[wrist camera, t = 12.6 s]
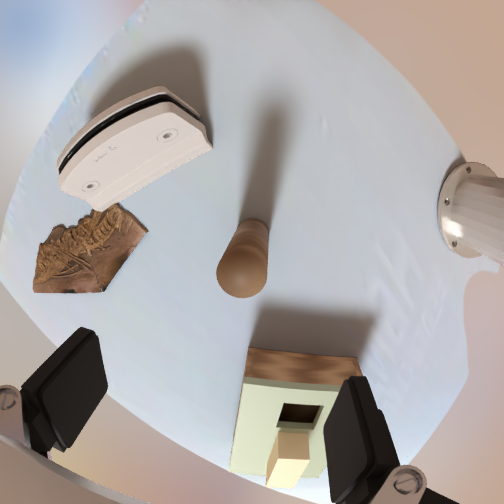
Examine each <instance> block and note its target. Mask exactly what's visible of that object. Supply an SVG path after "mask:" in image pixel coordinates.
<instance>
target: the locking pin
mask: <svg viewBox="0 0 504 504" xmlns="http://www.w3.org/2000/svg"><path fill="white" fill-rule="evenodd" d="M268 241H269V232H268V228H267V226H266V225H265V224H264V223H263V222H262V221H260V220H258V219H253V218H251V219H247V220H244V221H243V222H242V223H241V224H240V225H239V226H238V228H237V230H236V232H235V234H234V236H233V237H232V239H231V241H230V243H229V245H228V247H227V249H226V251H225V253H224V254H223V256H222V258H221V260H220V262H219V264H218V267H217V271H216V275H217V280H218V283H219V285H220V286H221V288H222V289H223V290H224V291H225V292H226V293H228V294H229V295H231V296H234V297H238V298H248V297H251V296H254V295H256V294H257V293H259V292H260V291H261V290H262V289H263V287H264V285H265V283H266V280H267V266H268Z"/></svg>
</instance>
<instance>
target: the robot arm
mask: <svg viewBox="0 0 504 504" xmlns="http://www.w3.org/2000/svg"><path fill="white" fill-rule="evenodd" d="M438 224H439V229H440V232H441V235H442V238H443V240H444V241H445V243H446V245H447V246H448V247H449V248H450V249H451V250H452V251H453V252H454V253H456V254H457V255H459V256H461V257H464V258H476V257H479V256H481V255H484V256H486V257H488V258H490V259H491V260H493V261H495V262H497V263H498V264H500V265H502V266H504V178H498V177H497V176H496V175H495V173H494V172H493V171H492V170H491V169H490V168H489V167H487V166H486V165H484V164H481V163H477V162H476V163H475V162H468V163H464V164H461V165H459V166H458V167H456V168H455V169H454V170H453V171H452V172H451V173H450V174H449V176H448V177H447V179H446V181H445V182H444V184H443V187H442V190H441V192H440V197H439V201H438ZM21 388H22V389H21V390H20V391H19V390H18V389H17V388H15V387H14V386H11V385H2V386H0V504H152V503H149V502H146V501H142V500H140V499H136V498H134V497H131V496H128V495H125V494H122V493H120V492H117V491H115V490H112V489H109V488H107V487H105V486H102V485H100V484H97V483H95V482H93V481H90V480H89V479H86V478H84V477H82V476H80V475H77V474H76V473H73V472H72V471H70V470H68V469H66V468H64V467H62V466H60V465H58V464H56V463H55V462H53V461H52V457H51V452H50V450H51V448H52V447H54V448H56V449H58V450H60V451H61V452H65V450H66V448H70V447H71V446H72V445H73V443H74V441H75V440H76V438H77V437H78V435H79V434H80V432H81V430H82V429H83V427H84V426H85V424H86V422H87V421H88V419H89V418H90V416H91V415H92V413H93V412H94V410H95V409H96V407H97V405H98V404H99V403H100V401H101V399H102V398H103V396H104V395H105V393H106V392H107V389H108V383H107V378H106V374H105V369H104V365H103V360H102V354H101V349H100V343H99V338H98V336H97V335H96V334H95V332H94V331H93V330H90V329H87V328H84V327H80V328H78V329H77V330H76V331H75V332H74V333H73V334H72V335H71V336H70V337H69V338H68V339H67V340H66V341H65V342H64V343H63V344H62V345H61V346H60V347H59V348H58V349H57V350H56V351H55V352H54V353H53V354H52V355H51V356H50V357H49V358H48V359H47V360H46V361H45V362H44V363H43V364H42V365H41V366H40V367H39V368H38V369H37V370H36V371H35V372H34V373H33V374H32V375H31V376H30V377H29V378H28V379H27V381H26V382H25V383H24V384H23V385H22V386H21ZM323 435H324V443H325V451H326V459H327V468H328V477H329V486H330V496H331V501H332V503H336V504H459V503H457V502H455V501H453V500H451V499H449V498H447V497H445V496H443V495H440V494H438V493H436V492H434V491H432V490H430V489H429V488H427V487H426V485H427V481H426V477H425V475H424V473H423V472H422V471H421V470H420V469H418V468H417V467H414V466H411V465H402V466H400V463H399V460H398V456H397V453H396V450H395V447H394V444H393V441H392V438H391V435H390V432H389V429H388V426H387V423H386V420H385V417H384V414H383V412H382V411H381V410H380V409H378V408H377V405H376V402H375V399H374V397H373V394H372V391H371V388H370V385H369V383H368V380H367V378H366V377H365V376H350V377H349V379H345V380H344V382H343V384H342V386H341V388H340V391H339V393H338V395H337V398H336V400H335V402H334V404H333V407H332V409H331V411H330V413H329V415H328V417H327V419H326V421H325V424H324V427H323Z"/></svg>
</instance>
